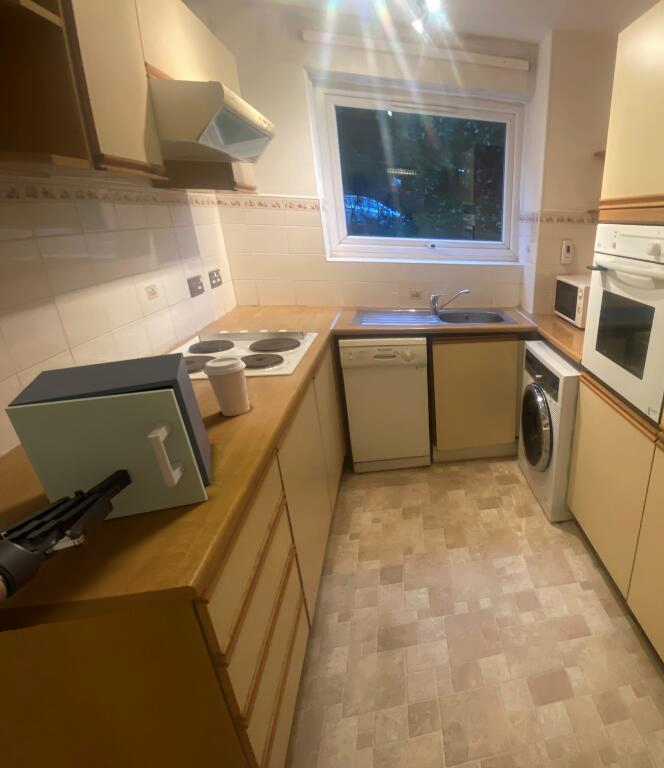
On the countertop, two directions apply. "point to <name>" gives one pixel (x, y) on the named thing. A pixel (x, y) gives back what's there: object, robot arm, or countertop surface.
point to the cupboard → (127, 391)
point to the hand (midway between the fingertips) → (125, 476)
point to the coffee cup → (229, 384)
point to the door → (112, 449)
